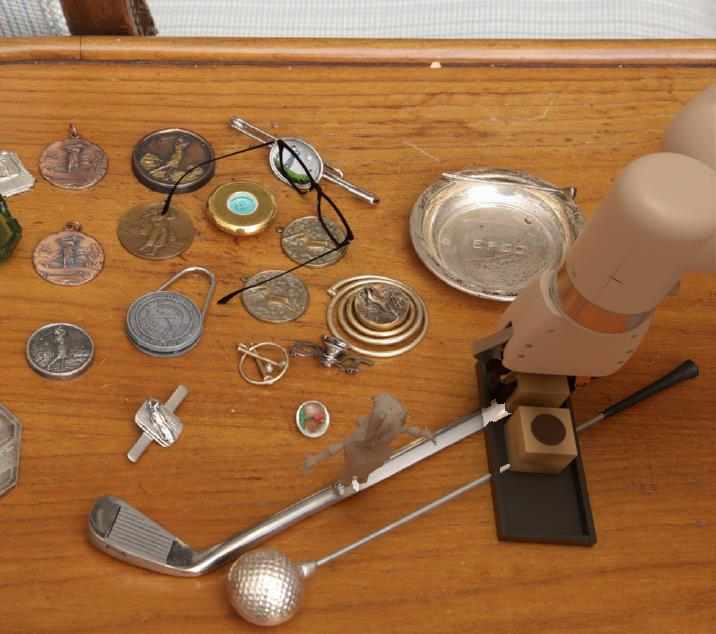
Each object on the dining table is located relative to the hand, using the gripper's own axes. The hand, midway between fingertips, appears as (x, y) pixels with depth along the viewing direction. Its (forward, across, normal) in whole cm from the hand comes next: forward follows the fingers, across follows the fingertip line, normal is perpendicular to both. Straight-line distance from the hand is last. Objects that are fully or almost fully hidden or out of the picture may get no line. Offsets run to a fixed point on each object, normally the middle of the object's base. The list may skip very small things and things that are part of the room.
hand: (525, 391), depth 87 cm
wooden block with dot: (+1, 0, +6) cm, 6 cm away
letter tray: (+2, 0, +6) cm, 6 cm away
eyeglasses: (+2, +26, -18) cm, 32 cm away
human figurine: (+2, +17, +10) cm, 20 cm away
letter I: (0, 0, 0) cm, 0 cm away
